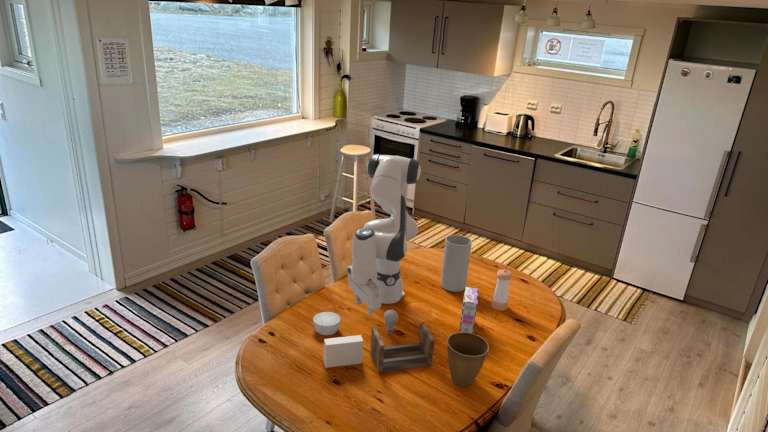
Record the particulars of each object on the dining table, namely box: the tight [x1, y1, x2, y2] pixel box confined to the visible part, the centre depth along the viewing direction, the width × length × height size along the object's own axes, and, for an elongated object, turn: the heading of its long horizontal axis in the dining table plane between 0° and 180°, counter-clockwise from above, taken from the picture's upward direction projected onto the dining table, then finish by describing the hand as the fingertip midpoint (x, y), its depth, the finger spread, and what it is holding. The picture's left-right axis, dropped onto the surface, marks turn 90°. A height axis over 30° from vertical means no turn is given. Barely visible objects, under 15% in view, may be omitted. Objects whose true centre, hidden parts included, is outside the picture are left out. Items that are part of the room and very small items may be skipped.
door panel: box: [323, 334, 364, 369], centre depth 200 cm, size 4×14×10 cm, turn 106°
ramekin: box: [312, 311, 342, 336], centre depth 221 cm, size 11×11×5 cm
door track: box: [369, 321, 436, 374], centre depth 203 cm, size 12×21×12 cm, turn 106°
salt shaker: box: [491, 268, 513, 311], centre depth 245 cm, size 7×7×19 cm
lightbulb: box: [383, 309, 399, 335], centre depth 220 cm, size 6×6×11 cm
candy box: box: [458, 286, 479, 334], centre depth 227 cm, size 14×6×16 cm, turn 168°
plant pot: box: [446, 332, 490, 387], centre depth 194 cm, size 15×15×16 cm
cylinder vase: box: [440, 234, 473, 293], centre depth 260 cm, size 12×12×25 cm
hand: (364, 309), depth 192 cm, fingers open, 8 cm apart
